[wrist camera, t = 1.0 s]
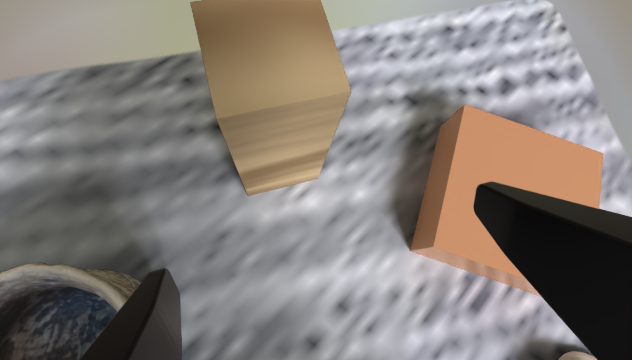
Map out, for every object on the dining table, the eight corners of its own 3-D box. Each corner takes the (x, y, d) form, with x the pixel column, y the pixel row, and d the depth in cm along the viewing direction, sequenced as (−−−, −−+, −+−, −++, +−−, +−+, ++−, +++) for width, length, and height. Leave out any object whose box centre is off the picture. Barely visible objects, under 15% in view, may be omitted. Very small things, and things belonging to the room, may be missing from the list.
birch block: (317, 178, 24) (351, 91, 13) (248, 195, 23) (216, 118, 12) (299, 116, 25) (315, -16, 14) (232, 130, 24) (190, 2, 13)
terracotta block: (541, 297, 24) (592, 302, 20) (408, 251, 24) (433, 246, 20) (556, 170, 27) (603, 153, 23) (438, 128, 27) (464, 104, 23)
